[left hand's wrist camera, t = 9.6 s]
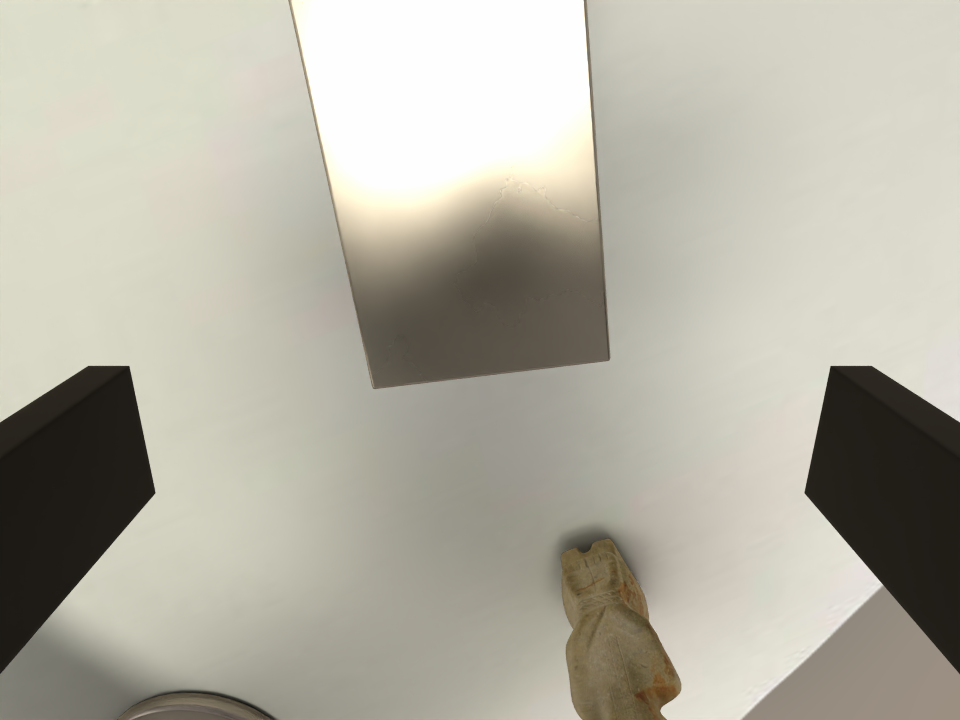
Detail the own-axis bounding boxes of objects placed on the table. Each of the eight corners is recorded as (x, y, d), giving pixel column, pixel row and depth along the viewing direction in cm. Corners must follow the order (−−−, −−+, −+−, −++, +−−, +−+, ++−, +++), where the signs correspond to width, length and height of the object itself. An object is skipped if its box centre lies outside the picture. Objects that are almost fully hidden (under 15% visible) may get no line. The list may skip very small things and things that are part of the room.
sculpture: (571, 623, 44) (608, 861, 30) (539, 541, 42) (564, 759, 28) (654, 602, 44) (730, 837, 30) (627, 517, 41) (697, 729, 27)
